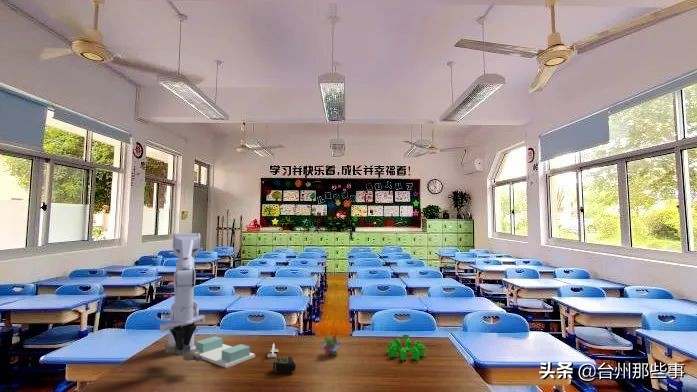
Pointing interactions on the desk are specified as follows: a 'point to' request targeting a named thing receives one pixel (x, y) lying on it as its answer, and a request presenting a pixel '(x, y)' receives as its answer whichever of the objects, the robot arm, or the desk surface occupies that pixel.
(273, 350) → the white tapered piece
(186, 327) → the robot arm
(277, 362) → the tape measure
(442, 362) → the desk surface
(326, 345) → the geometric puzzle
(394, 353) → the green lumpy cluster
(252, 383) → the desk surface
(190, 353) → the rod with two spheres
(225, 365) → the stand
